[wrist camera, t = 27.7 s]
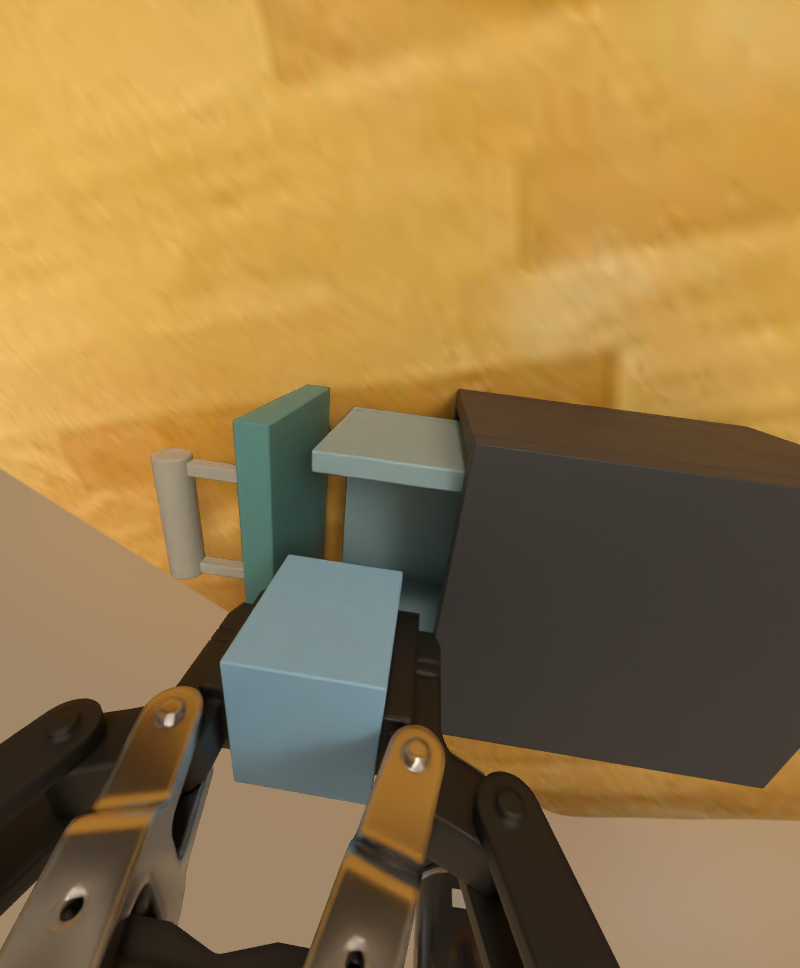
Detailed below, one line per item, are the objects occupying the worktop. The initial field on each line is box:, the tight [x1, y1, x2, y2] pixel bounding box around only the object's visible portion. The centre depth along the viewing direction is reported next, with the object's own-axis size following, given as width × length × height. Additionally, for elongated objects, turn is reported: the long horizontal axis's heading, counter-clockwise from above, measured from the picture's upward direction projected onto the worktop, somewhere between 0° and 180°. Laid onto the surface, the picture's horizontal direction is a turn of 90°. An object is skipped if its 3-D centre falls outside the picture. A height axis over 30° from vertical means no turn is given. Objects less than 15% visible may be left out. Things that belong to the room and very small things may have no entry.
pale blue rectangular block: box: [220, 555, 403, 805], centre depth 10 cm, size 4×4×4 cm
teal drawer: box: [151, 385, 468, 633], centre depth 17 cm, size 18×11×7 cm, turn 83°
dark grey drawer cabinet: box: [433, 389, 800, 788], centre depth 17 cm, size 14×13×9 cm
